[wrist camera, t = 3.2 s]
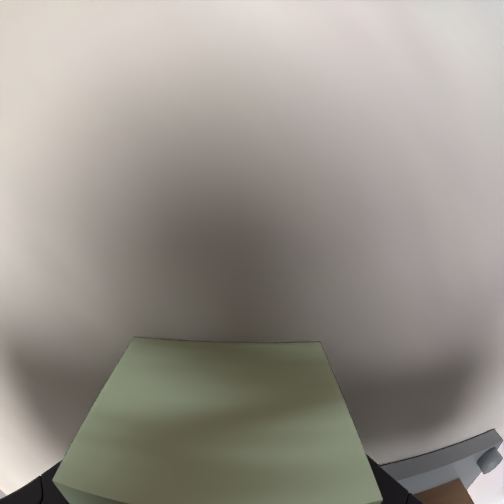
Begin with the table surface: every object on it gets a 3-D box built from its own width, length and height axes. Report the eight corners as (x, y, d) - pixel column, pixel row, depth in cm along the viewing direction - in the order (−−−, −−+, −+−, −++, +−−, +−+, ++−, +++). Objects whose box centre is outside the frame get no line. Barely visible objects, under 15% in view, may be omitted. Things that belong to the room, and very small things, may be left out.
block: (320, 341, 8) (383, 499, 3) (299, 456, 9) (320, 575, 4) (134, 337, 8) (52, 480, 3) (159, 452, 9) (131, 567, 4)
